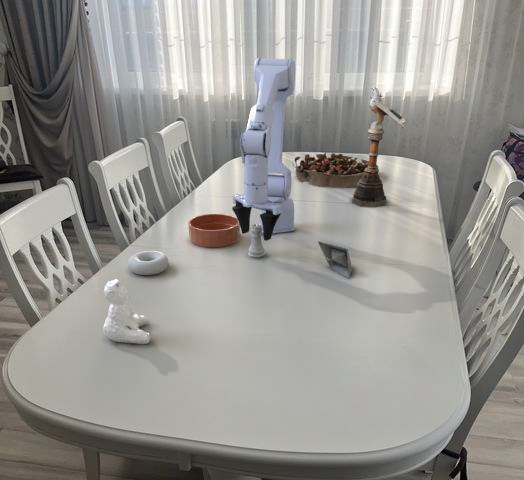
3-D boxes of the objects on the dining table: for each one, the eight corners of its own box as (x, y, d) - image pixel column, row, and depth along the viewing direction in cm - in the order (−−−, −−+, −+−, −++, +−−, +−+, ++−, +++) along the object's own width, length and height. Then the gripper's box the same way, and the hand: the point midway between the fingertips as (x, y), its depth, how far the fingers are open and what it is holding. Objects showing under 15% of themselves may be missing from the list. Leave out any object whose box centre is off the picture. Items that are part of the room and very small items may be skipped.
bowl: (231, 228, 161) (230, 211, 158) (246, 244, 150) (246, 227, 147) (184, 233, 157) (183, 216, 154) (196, 251, 146) (195, 233, 143)
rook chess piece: (247, 252, 145) (247, 223, 141) (264, 251, 145) (264, 222, 141) (248, 258, 141) (248, 229, 137) (265, 258, 142) (265, 228, 137)
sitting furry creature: (151, 344, 106) (144, 288, 99) (105, 351, 104) (95, 294, 97) (146, 321, 113) (138, 268, 107) (103, 327, 111) (93, 273, 105)
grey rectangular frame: (368, 265, 135) (353, 268, 127) (351, 283, 138) (335, 287, 130) (336, 230, 137) (320, 231, 130) (320, 249, 141) (303, 251, 133)
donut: (157, 280, 131) (176, 263, 139) (155, 267, 129) (175, 251, 137) (120, 274, 133) (141, 258, 141) (118, 261, 132) (139, 246, 139)
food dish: (295, 164, 228) (296, 145, 224) (375, 168, 224) (378, 148, 220) (286, 185, 198) (287, 162, 194) (379, 190, 194) (382, 167, 190)
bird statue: (400, 196, 187) (415, 83, 168) (402, 208, 176) (419, 88, 157) (351, 194, 189) (361, 82, 170) (350, 205, 178) (360, 87, 159)
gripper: (223, 180, 135) (225, 233, 142) (267, 191, 127) (267, 247, 134) (242, 174, 139) (243, 226, 146) (287, 185, 131) (285, 239, 138)
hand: (256, 235), depth 140 cm, fingers open, 7 cm apart
